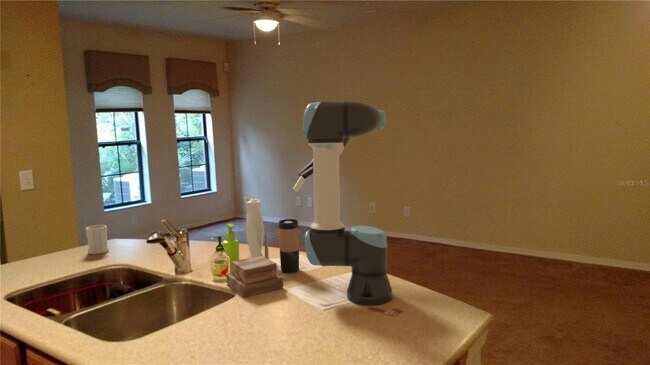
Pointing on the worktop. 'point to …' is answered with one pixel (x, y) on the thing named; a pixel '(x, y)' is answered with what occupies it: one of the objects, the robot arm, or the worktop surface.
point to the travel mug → (289, 245)
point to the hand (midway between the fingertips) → (306, 192)
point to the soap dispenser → (231, 245)
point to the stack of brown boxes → (254, 276)
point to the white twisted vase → (255, 228)
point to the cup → (97, 239)
